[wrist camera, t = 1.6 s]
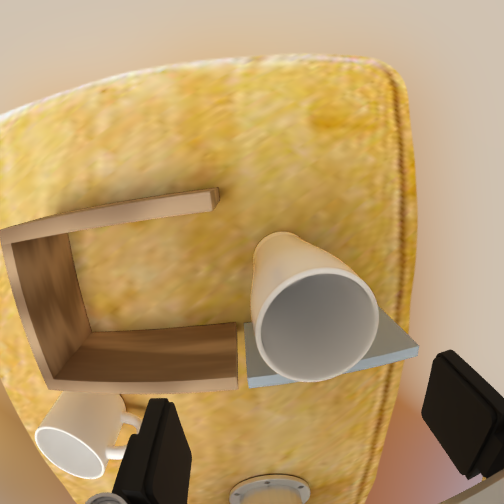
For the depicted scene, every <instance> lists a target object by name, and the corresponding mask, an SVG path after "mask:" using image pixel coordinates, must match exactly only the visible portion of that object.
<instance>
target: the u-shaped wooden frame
mask: <svg viewBox="0 0 504 504" xmlns="http://www.w3.org/2000/svg"><path fill="white" fill-rule="evenodd" d="M219 201H220V197H219V189H218V187H217V188H209V189H201V190H194V191H186V192H179V193H172V194H166V195H159V196H153V197H146V198H140V199H134V200H128V201H122V202H117V203H111V204H105V205H100V206H95V207H89V208H84V209H79V210H74V211H69V212H64V213H60V214H55V215H51V216H47V217H43V218H40V219H36V220H32V221H29V222H25V223H22V224H18V225H14V226H11V227H8V228H4V229H1V230H0V241H1V246H2V251H3V256H4V260H5V265H6V269H7V273H8V277H9V281H10V285H11V288H12V292H13V296H14V299H15V302H16V306H17V309H18V312H19V315H20V318H21V321H22V324H23V327H24V330H25V333H26V336H27V339H28V341H29V344H30V347H31V349H32V352H33V354H34V357H35V359H36V362H37V364H38V367H39V369H40V371H41V374H42V376H43V378H44V380H45V383H46V385H47V387H48V389H49V390H59V391H71V392H86V393H107V394H175V393H197V392H213V391H226V390H237V389H238V353H237V328H236V322H232V323H223V324H213V325H202V326H191V327H179V328H165V329H151V330H134V331H114V332H92V331H91V328H90V325H89V321H88V318H87V314H86V311H85V307H84V304H83V300H82V296H81V292H80V288H79V284H78V280H77V276H76V271H75V267H74V263H73V258H72V253H71V248H70V243H69V238H68V232H74V231H79V230H85V229H91V228H97V227H103V226H110V225H116V224H122V223H129V222H135V221H142V220H149V219H156V218H163V217H170V216H178V215H185V214H193V213H201V212H208V211H213V209H214V208H215V207H216V205H217V204H218V202H219Z"/></svg>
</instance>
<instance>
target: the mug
mask: <svg viewBox="0 0 504 504" xmlns="http://www.w3.org/2000/svg"><path fill="white" fill-rule="evenodd" d="M142 421H143V420H142V419H141V418H140V417H138V416H136V415H134V414H132V413H128V412H126V407H125V404H124V401H123V399H122V398H121V396H120V395H119V394H107V393H86V392H71V391H63V392H62V393H61V395H60V396H59V398H58V399H57V400H56V402H55V403H54V405H53V406H52V408H51V409H50V411H49V412H48V414H47V415H46V417H45V418H44V420H43V421H42V422H41V424H40V426H39V427H38V429H37V430H36V432H35V440H36V443H37V445H38V447H39V449H40V450H41V452H42V453H43V454H44V455H45V456H46V457H47V458H48V459H49V460H50V461H51V462H52V463H53V464H55V465H56V466H57V467H59V468H60V469H62V470H64V471H65V472H67V473H69V474H72V475H74V476H77V477H80V478H85V479H96V478H99V477H101V476H102V475H103V474H104V472H105V469H106V466H107V463H108V461H109V459H123V456H124V453H125V450H126V447H127V445H124V446H114V445H115V443H116V440H117V437H118V435H119V432H120V430H121V427H122V425H123V423H126V424H130V425H133V426H134V427H135V428H136V429H137V434H138V433H139V430H140V427H141V424H142Z"/></svg>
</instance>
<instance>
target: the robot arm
mask: <svg viewBox="0 0 504 504" xmlns="http://www.w3.org/2000/svg"><path fill="white" fill-rule="evenodd" d="M421 413H422V418H423V420H424V421H425V422H426V424H427V425H428V426H429V428H430V430H431V431H432V432H433V434H434V435H435V437H436V438H437V440H438V441H439V443H440V444H441V446H442V447H443V449H444V450H445V451H446V453H447V454H448V456H449V457H450V459H451V460H452V462H453V463H454V465H455V466H456V468H457V469H458V471H459V472H460V473H461V474H462V475H465V476H466V478H467V479H468V480H469V479H471V478H473V477H475V476H476V475H478V474H479V473H481V474H482V475H483V478H482V482H480V483H478V484H477V485H475V486H473V487H471V488H469V489H467V490H465V491H463V492H462V493H460V494H458V495H456V496H454V497H452V498H450V499H448V500H445V501H443V502H441V503H439V504H504V398H503V397H502V396H501V395H500V394H499V393H498V392H497V391H496V390H495V389H494V388H493V387H492V386H491V385H490V384H489V383H488V382H486V380H485V379H484V378H482V377H481V376H480V375H479V374H478V373H477V372H476V371H475V370H474V369H473V368H472V367H471V366H469V364H467V363H466V362H465V361H464V360H463V359H462V358H461V357H460V356H459V355H457V354H456V353H455V352H454V351H453V350H447V351H445V352H441V353H439V354H437V356H436V358H435V359H434V360H433V364H432V368H431V373H430V378H429V382H428V387H427V391H426V395H425V399H424V403H423V407H422V412H421ZM191 462H192V455H191V451H190V448H189V445H188V442H187V440H186V437H185V434H184V431H183V429H182V426H181V423H180V420H179V417H178V414H177V411H176V408H175V405H174V403H173V402H169V401H168V399H167V398H152V399H150V400H149V403H148V406H147V409H146V412H145V415H144V418H143V421H142V424H141V427H140V430H139V433H138V434H132V435H131V436H130V438H129V441H128V444H127V447H126V450H125V453H124V456H123V459H122V462H121V465H120V468H119V471H118V474H117V477H116V480H115V484H114V487H113V490H112V493H100V494H96V495H94V496H92V497H91V498H89V500H88V501H87V502H86V503H85V504H187V497H188V488H189V479H190V470H191ZM310 494H311V493H310V488H309V485H308V484H307V483H306V482H305V481H304V480H302V479H300V478H297V477H294V476H289V475H264V476H259V477H254V478H251V479H248V480H245V481H243V482H241V483H239V484H237V485H236V486H235V487H234V488H233V489H232V490H231V491H230V494H229V502H230V504H305V503H306V502H307V501H308V499H309V497H310Z"/></svg>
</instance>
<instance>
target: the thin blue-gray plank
mask: <svg viewBox="0 0 504 504" xmlns="http://www.w3.org/2000/svg"><path fill="white" fill-rule="evenodd" d="M378 310H379V324H378V330H377V333H376V336H375V339H374V341H373V343H372V345H371V347H370V349H369V350H368V352H367V353H366V354H365V355H364V357H363V358H362V359H361V360H360V361H359V362H358V363H357V364H356V365H355V366H353V367H352V368H351V369H349V370H348V371H346V372H344V373H342V374H345V373H350V372H355V371H359V370H364V369H368V368H373V367H377V366H381V365H385V364H389V363H393V362H397V361H401V360H405V359H408V358H412V357H416V356H418V350H419V345H418V344H417V343H416V342H415V341H414V340H413V339H412V338H410V336H409V335H408V334H407V333H406V332H405V331H404V330H403V329H402V328H400V327H399V326H398V325H397V324H396V323H395V322H394V321H393V320H392V319H391V318H390V317H389V316H388V315H387V314H386V313H385V312H384V311H383V310H382V309H381V308H380V307H379V306H378ZM244 333H245V349H246V364H247V379H248V385H249V388H256V387H264V386H272V385H280V384H287V383H294V382H300V381H295V380H291V379H288V378H285V377H283V376H281V375H279V374H278V373H276V372H275V371H274V370H272V369H271V368H270V367H269V366H268V365H267V364H266V363H265V361H264V360H263V358H262V357H261V355H260V353H259V350H258V348H257V344H256V339H255V335H254V331H253V326H252V322H249V323H244Z"/></svg>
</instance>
